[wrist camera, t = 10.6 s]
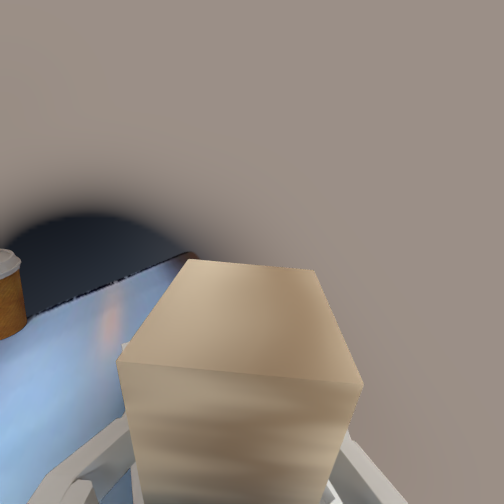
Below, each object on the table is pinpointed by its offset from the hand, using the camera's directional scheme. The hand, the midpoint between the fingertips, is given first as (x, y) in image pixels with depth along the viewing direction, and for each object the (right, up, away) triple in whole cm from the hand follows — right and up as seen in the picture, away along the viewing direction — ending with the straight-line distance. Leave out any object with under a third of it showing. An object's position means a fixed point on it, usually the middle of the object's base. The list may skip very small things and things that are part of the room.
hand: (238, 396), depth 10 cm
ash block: (-1, -6, +2) cm, 7 cm away
